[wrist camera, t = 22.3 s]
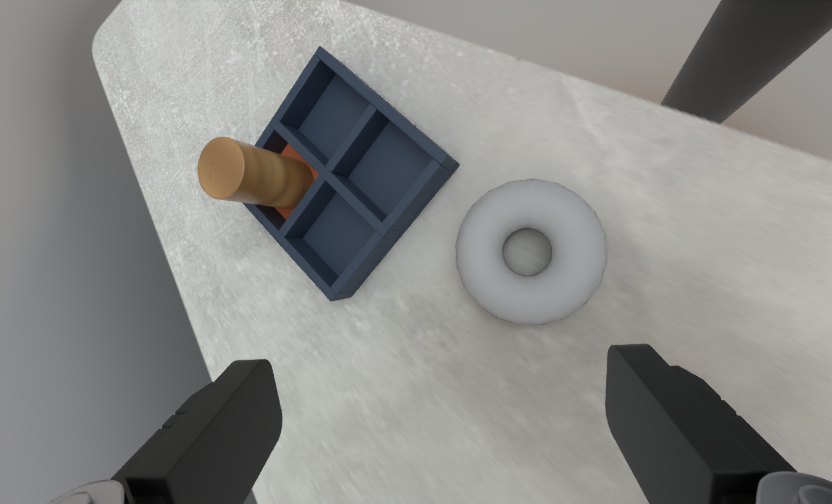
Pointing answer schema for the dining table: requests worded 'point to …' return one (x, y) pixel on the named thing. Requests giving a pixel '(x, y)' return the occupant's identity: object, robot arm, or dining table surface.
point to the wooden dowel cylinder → (252, 174)
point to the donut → (570, 263)
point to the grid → (348, 175)
